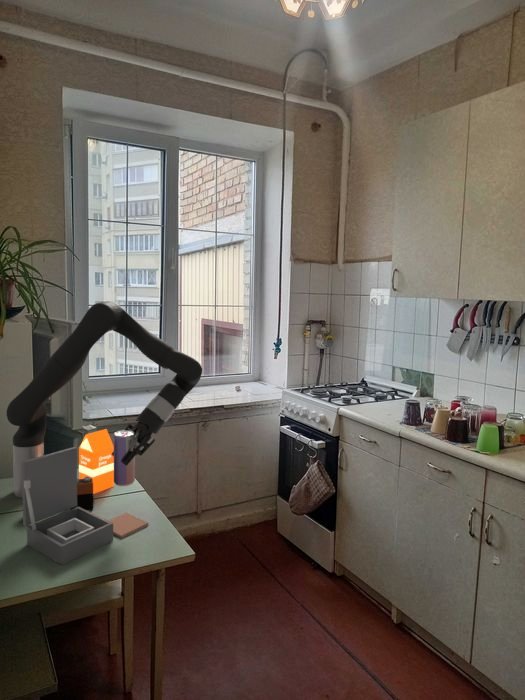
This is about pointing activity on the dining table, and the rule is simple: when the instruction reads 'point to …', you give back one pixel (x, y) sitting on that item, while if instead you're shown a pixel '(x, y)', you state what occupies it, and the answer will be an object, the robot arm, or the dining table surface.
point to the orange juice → (97, 460)
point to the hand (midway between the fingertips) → (118, 459)
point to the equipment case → (59, 509)
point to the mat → (126, 524)
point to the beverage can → (122, 445)
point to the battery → (85, 493)
